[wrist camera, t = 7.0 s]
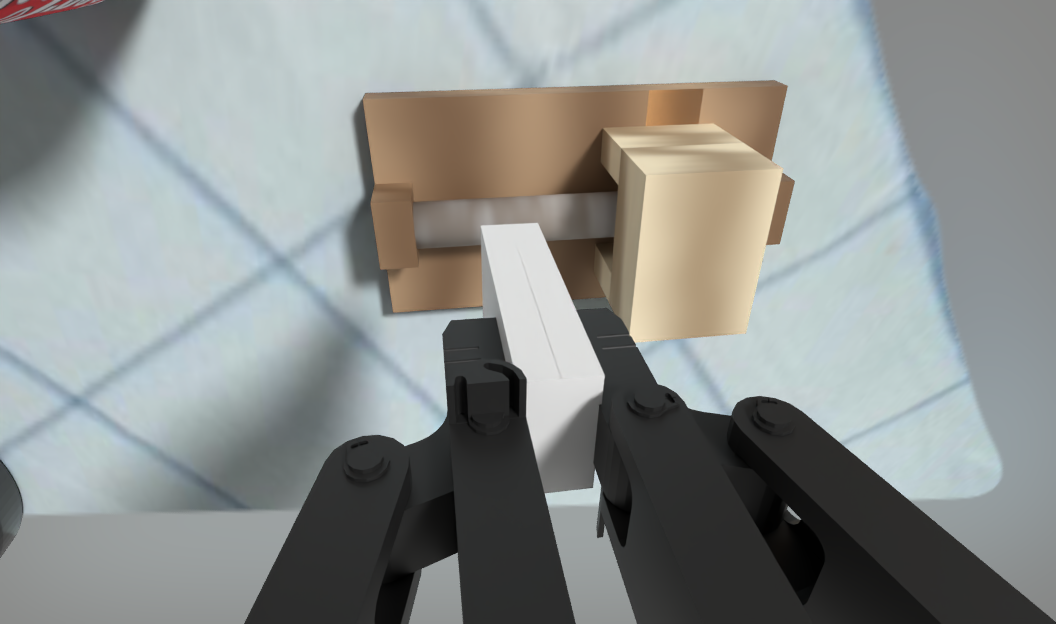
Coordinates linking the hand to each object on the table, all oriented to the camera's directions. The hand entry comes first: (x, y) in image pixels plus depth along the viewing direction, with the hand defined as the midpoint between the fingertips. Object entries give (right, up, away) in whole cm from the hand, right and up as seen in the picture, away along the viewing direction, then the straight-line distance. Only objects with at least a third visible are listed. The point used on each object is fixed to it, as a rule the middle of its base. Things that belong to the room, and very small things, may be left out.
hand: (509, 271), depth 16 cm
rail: (+3, +4, +12) cm, 13 cm away
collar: (+6, +4, +12) cm, 14 cm away
